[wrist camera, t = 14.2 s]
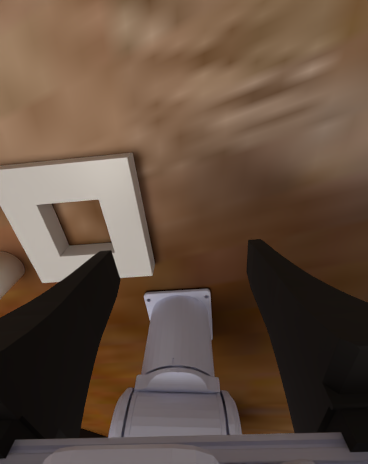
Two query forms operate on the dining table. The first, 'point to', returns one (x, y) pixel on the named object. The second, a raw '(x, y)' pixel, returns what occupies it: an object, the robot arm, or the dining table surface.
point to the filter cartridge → (9, 271)
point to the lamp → (89, 434)
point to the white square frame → (69, 190)
